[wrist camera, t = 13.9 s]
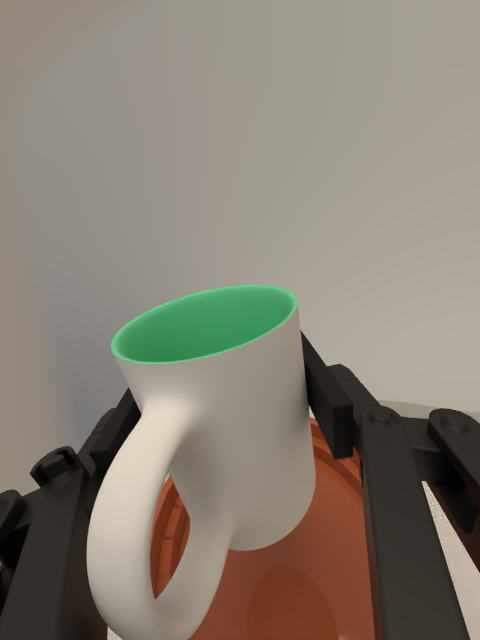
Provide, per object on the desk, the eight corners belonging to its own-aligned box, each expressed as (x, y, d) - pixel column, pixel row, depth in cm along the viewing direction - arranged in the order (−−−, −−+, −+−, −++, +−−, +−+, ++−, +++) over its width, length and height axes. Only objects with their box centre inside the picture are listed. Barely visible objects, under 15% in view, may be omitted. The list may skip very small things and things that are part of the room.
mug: (339, 763, 6) (309, 573, 2) (101, 671, 8) (-123, 490, 4) (310, 416, 17) (296, 277, 13) (208, 414, 19) (170, 294, 15)
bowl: (94, 771, 13) (55, 754, 11) (197, 441, 32) (188, 417, 30) (547, 880, 9) (591, 880, 7) (359, 435, 28) (360, 406, 26)
